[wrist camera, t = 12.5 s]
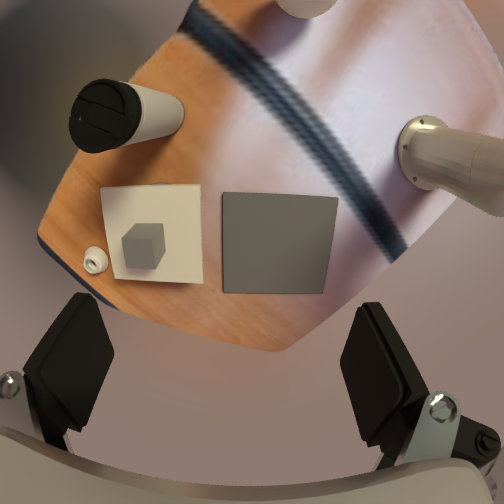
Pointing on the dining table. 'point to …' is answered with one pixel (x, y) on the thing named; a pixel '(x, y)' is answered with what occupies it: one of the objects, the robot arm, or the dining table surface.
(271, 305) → the dining table surface
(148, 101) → the travel mug
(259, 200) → the mat
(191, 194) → the square lid
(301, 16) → the white pear-shaped vessel
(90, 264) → the lidless jar
